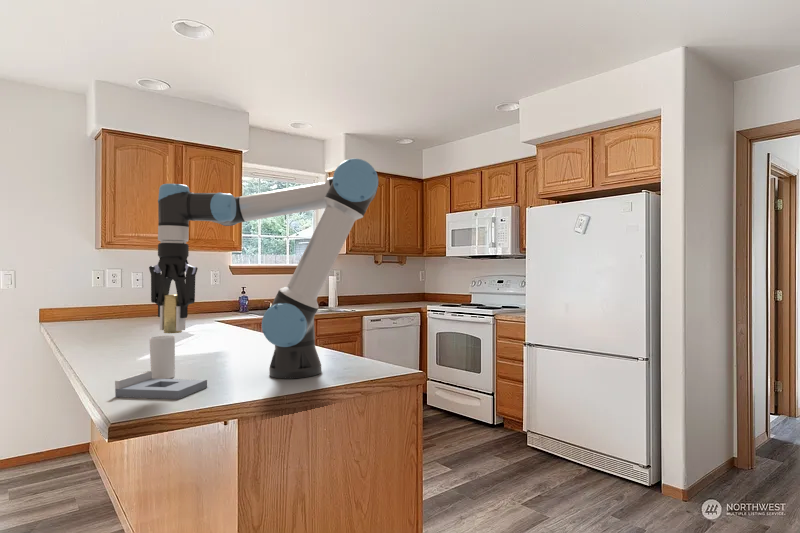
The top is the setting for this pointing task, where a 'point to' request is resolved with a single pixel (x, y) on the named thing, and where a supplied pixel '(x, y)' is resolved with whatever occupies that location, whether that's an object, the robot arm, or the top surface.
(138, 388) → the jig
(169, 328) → the gold rectangular block
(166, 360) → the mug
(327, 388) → the top surface
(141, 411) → the top surface
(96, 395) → the top surface
